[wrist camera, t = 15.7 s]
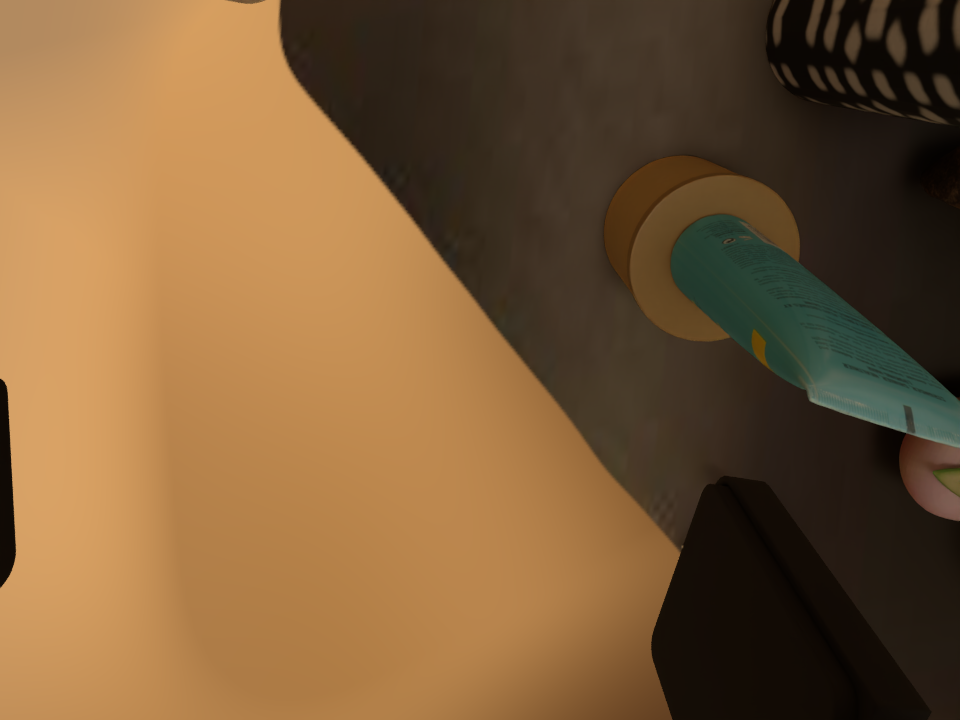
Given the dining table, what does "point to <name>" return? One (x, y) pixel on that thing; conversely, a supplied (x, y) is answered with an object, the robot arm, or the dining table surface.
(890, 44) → the black spotted cylinder
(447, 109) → the dining table surface
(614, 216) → the canister
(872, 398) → the tube
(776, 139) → the dining table surface
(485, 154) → the dining table surface
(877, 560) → the dining table surface
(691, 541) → the robot arm
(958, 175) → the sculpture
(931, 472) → the decorative fruit
